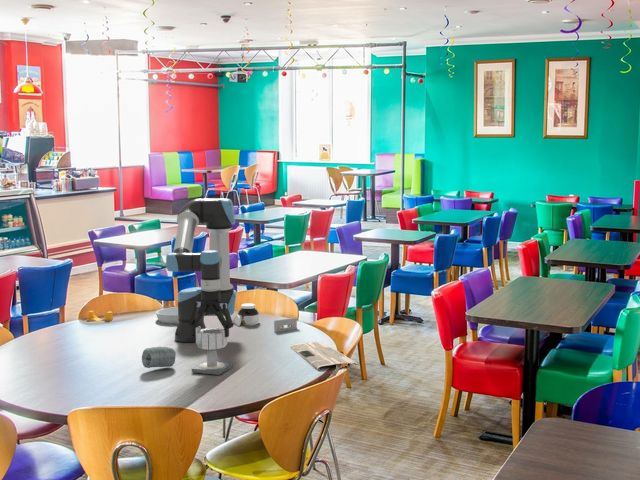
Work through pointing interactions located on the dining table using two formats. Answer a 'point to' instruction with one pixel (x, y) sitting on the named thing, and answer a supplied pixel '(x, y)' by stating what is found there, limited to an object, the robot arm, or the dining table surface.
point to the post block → (212, 365)
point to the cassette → (289, 322)
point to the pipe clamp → (94, 318)
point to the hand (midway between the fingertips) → (211, 344)
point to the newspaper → (320, 354)
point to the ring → (210, 338)
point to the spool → (158, 357)
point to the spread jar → (246, 315)
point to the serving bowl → (168, 315)
